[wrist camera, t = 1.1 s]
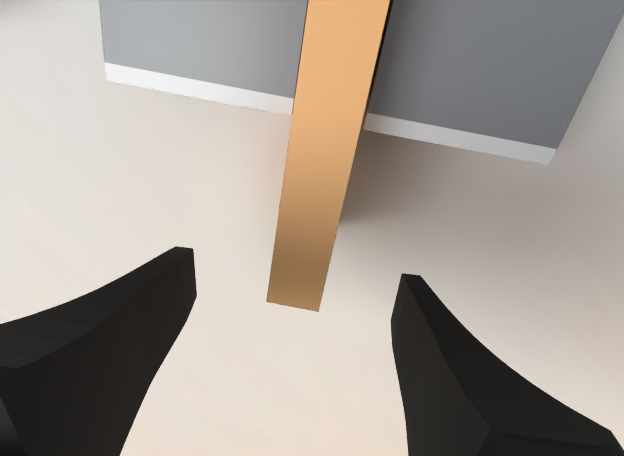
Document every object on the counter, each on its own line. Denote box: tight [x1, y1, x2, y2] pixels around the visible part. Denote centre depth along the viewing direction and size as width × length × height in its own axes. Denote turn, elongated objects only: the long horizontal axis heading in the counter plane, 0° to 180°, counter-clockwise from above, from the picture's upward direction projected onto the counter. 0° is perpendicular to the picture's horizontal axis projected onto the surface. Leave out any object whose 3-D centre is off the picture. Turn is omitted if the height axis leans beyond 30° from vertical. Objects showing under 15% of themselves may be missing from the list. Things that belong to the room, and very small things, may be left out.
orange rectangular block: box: [266, 0, 390, 312], centre depth 15 cm, size 11×2×7 cm, turn 171°
